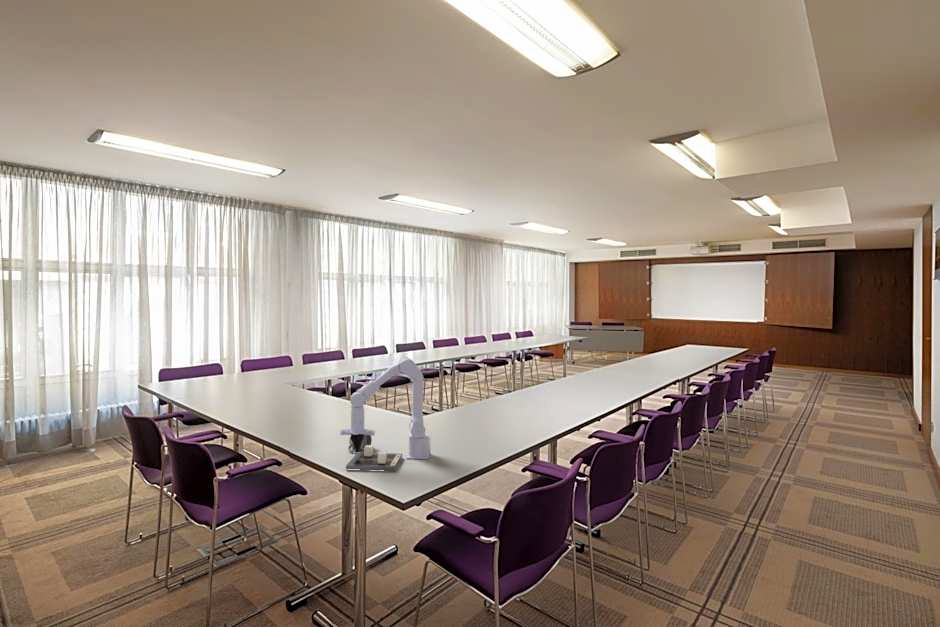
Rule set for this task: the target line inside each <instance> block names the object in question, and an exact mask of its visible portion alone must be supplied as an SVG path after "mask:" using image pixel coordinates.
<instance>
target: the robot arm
mask: <svg viewBox="0 0 940 627" xmlns="http://www.w3.org/2000/svg"><path fill="white" fill-rule="evenodd" d="M401 373H402V374H403V375H406V376H408V377H409V378H410V379H411V380H412V391H411V393H412V395H411V396H412V399H411V403H412V404H411V417H410V418H411V420H410V422H409V426H408V427H409V430H410V433H409V435H408V455H407V456H406V459H408V460H409V459H410V460H428V459H429V457H430V456H431V436H428V435H427V436H426V428H425V425H424V412H423V411H424V410H423V409H424V375H423V373H422V371H421V370H420V368H419V367H418V366H417V364H416V362H414V361H413V359H411V358H409V357H402V358H401V359H399V360H398V361H396V362H395V363H393V364H392V365H390V367H388V368H387V369H386V370H385V371H384V372H383V373H382V374H380V375H379V376H378V377H377V378H376V379H375V380H372V379H371V380H369V381H368V380H367V381H365V384H364V385H363V386H362V387H360V388H358V389H356V391H355V392H353V393H352V394H351V396H350V404H351V405H350V408H351V409H350V428H347V429H341V430H340V431H339V432H340V436H344V435H345V436H350V437H349V440H350V439H351V440H352V442H353V445H354V447H355V448H354V450H355V453H360V451H361V450H360V447H361V444H362V441H363V438H364V436H365V435H371V437H373V436H375V435H376V431H375V429H367V428H365V409H364V408H365V406H364V404H365V401H367V400H369V399H371V398H372V397H373V396H374V395H375V394H376V393H378V392H379V391H380V386H382V385H383V384H384V383H386V382H388V380H389V379H390V378H392V377H394V376H399V375H402V374H401Z"/></svg>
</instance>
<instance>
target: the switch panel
mask: <svg viewBox="0 0 940 627" xmlns="http://www.w3.org/2000/svg"><path fill="white" fill-rule="evenodd" d="M378 453H379V452H373V455H372V456H364V452H356V454H355V455H354V456H353V457H352V458H351V459H350V460H349V462H348V463H347V464H346V465H345V470H346V469H360V470H384V471H395V472H396V470H397V468H398V467H399V465H400V464H401V462H400V461H402V460H403V453H395V452H393V453H388V452H387V461H386V463H378ZM401 459H402V460H401ZM398 464H399V465H398ZM397 466H398V467H397Z"/></svg>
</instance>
